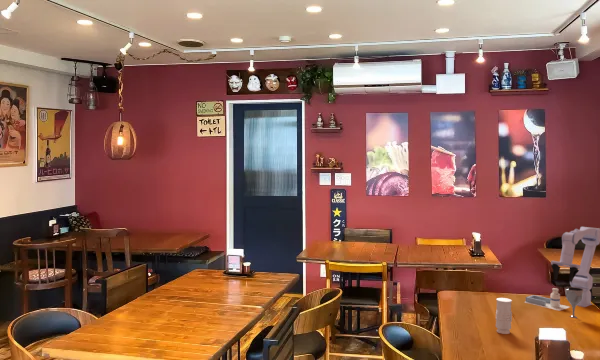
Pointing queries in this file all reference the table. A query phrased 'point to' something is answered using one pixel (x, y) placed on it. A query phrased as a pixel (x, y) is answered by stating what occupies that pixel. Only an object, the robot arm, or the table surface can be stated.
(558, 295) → the bottle
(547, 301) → the cradle
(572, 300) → the wine glass
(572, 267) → the robot arm
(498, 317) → the candle
